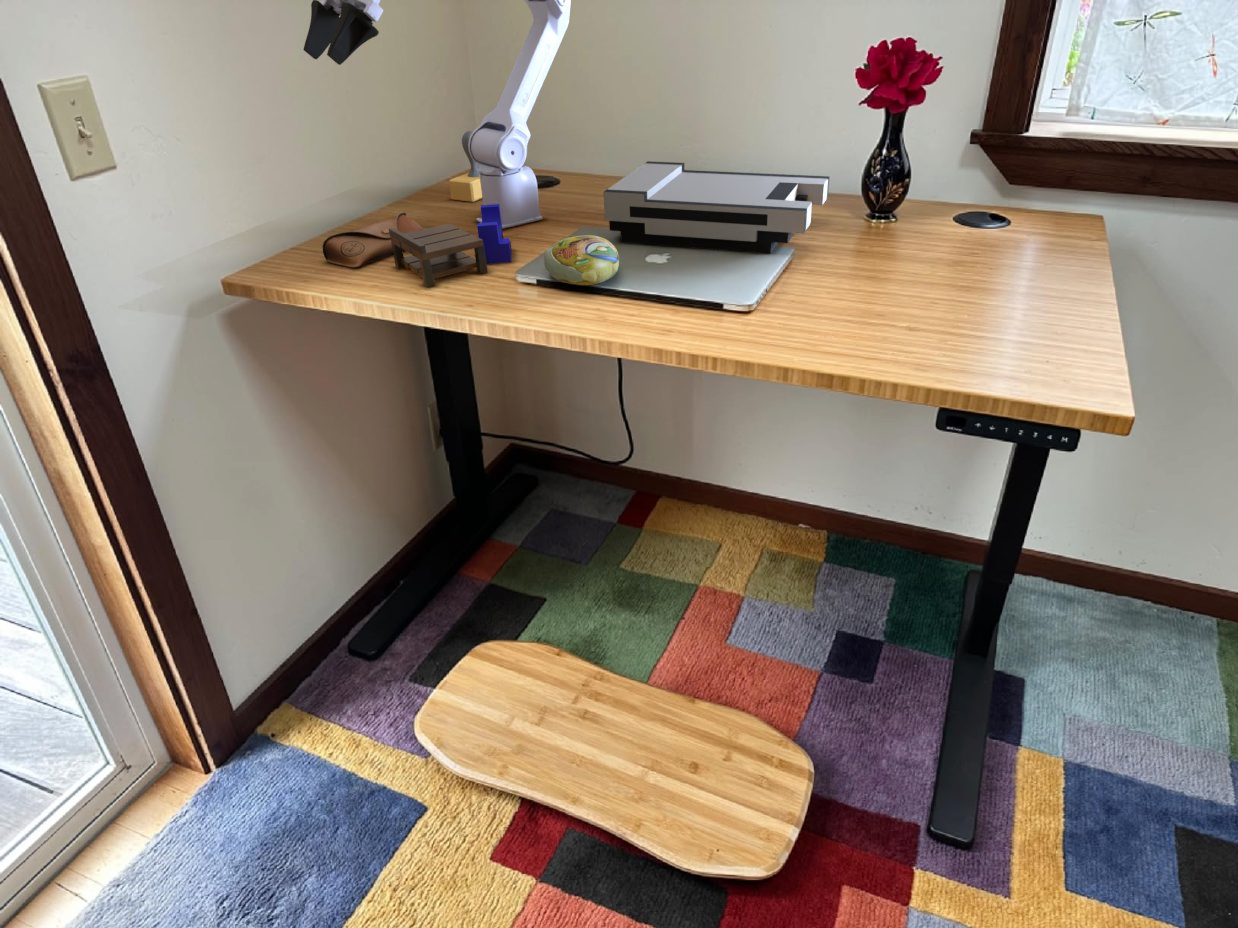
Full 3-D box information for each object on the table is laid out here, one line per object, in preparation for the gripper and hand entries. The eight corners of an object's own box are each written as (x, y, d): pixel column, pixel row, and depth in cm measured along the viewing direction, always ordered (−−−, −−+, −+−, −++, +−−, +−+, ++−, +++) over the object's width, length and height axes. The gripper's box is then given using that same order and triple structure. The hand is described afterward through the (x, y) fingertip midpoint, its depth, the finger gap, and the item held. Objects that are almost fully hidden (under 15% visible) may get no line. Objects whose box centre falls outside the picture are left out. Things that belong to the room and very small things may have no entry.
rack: (453, 253, 140) (447, 215, 137) (487, 272, 132) (482, 232, 128) (395, 267, 136) (388, 228, 132) (427, 288, 127) (420, 246, 124)
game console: (802, 257, 131) (805, 203, 126) (606, 242, 141) (603, 192, 137) (826, 218, 147) (830, 169, 143) (648, 208, 158) (647, 161, 153)
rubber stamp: (473, 202, 167) (464, 137, 160) (450, 199, 169) (440, 135, 163) (504, 189, 174) (497, 126, 168) (481, 187, 177) (473, 125, 170)
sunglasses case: (358, 266, 135) (336, 227, 134) (338, 282, 140) (316, 245, 139) (440, 235, 147) (421, 199, 146) (419, 251, 152) (400, 216, 151)
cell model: (620, 241, 133) (625, 233, 118) (612, 292, 135) (615, 290, 120) (551, 229, 133) (546, 220, 118) (543, 281, 134) (538, 277, 119)
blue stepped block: (511, 262, 135) (506, 224, 132) (482, 264, 135) (477, 226, 132) (512, 239, 145) (508, 203, 142) (485, 241, 145) (481, 205, 142)
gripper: (324, -47, 126) (276, 33, 126) (372, -45, 117) (321, 42, 117) (362, -11, 131) (316, 66, 131) (411, -6, 122) (362, 77, 122)
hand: (321, 57), depth 124 cm, fingers open, 7 cm apart
